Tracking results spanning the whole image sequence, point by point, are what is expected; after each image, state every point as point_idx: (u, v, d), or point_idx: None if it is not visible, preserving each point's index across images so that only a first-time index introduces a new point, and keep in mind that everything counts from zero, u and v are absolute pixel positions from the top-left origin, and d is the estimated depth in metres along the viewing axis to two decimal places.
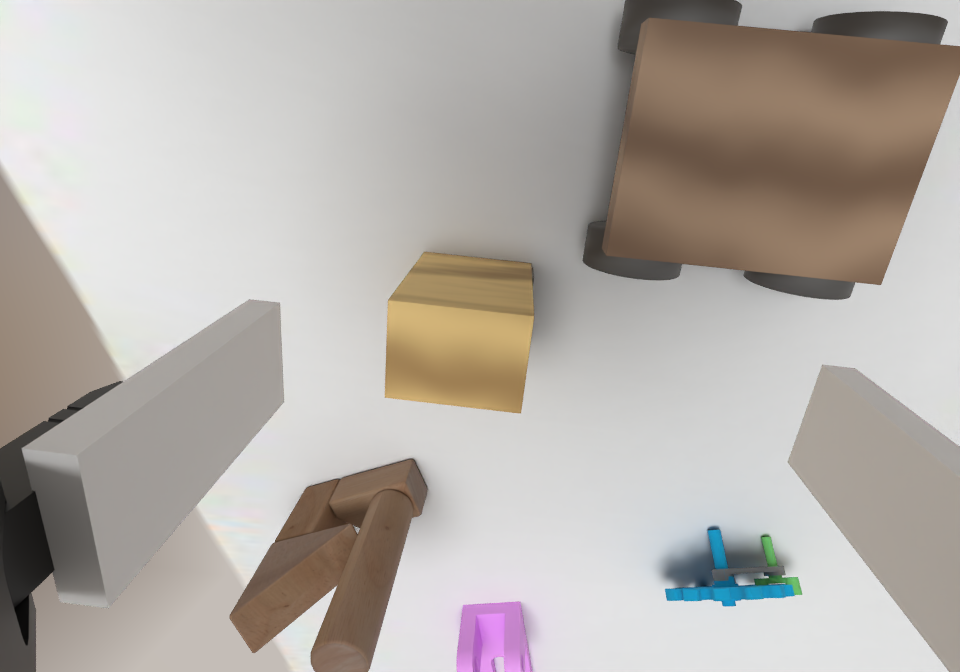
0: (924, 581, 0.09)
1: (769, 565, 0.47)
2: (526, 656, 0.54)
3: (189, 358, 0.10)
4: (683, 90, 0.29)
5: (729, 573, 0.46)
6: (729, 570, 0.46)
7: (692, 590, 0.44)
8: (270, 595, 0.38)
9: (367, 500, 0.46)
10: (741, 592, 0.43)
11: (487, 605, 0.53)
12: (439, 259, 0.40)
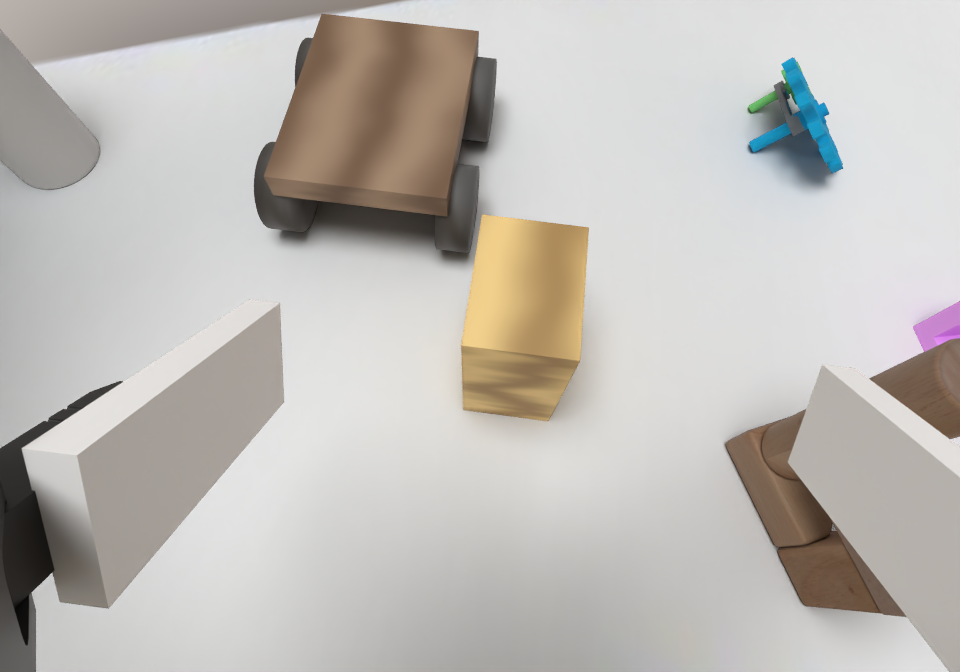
0: (925, 580, 0.09)
1: (777, 96, 0.49)
2: None
3: (189, 358, 0.10)
4: (319, 153, 0.38)
5: (790, 117, 0.46)
6: (787, 118, 0.46)
7: (809, 128, 0.42)
8: None
9: (787, 484, 0.34)
10: (798, 88, 0.43)
11: None
12: None
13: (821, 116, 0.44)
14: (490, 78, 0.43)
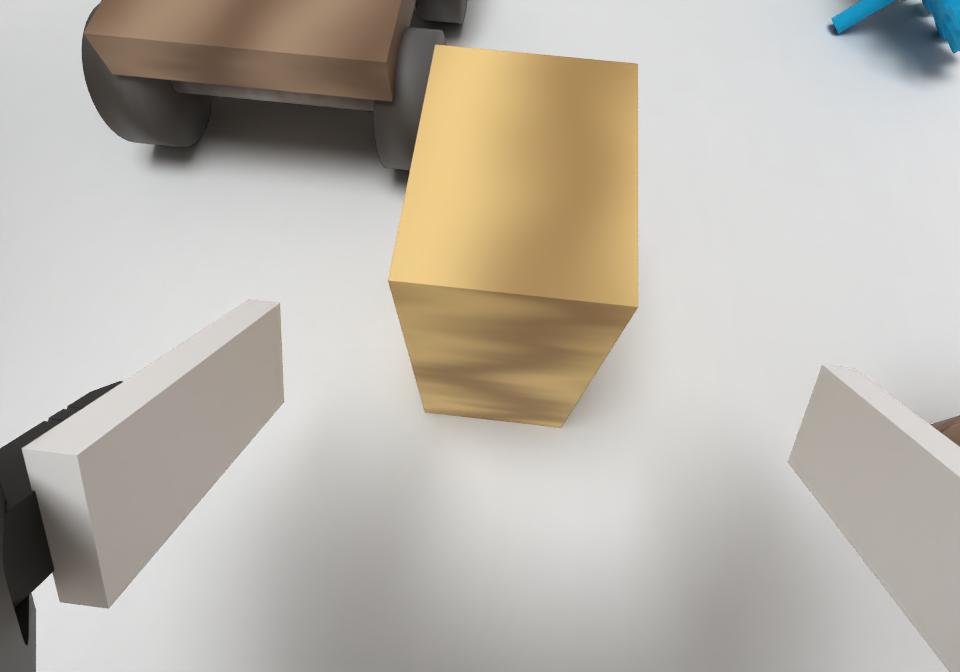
0: (925, 580, 0.09)
1: None
2: None
3: (189, 358, 0.10)
4: None
5: None
6: None
7: None
8: None
9: None
10: None
11: None
12: None
13: None
14: None
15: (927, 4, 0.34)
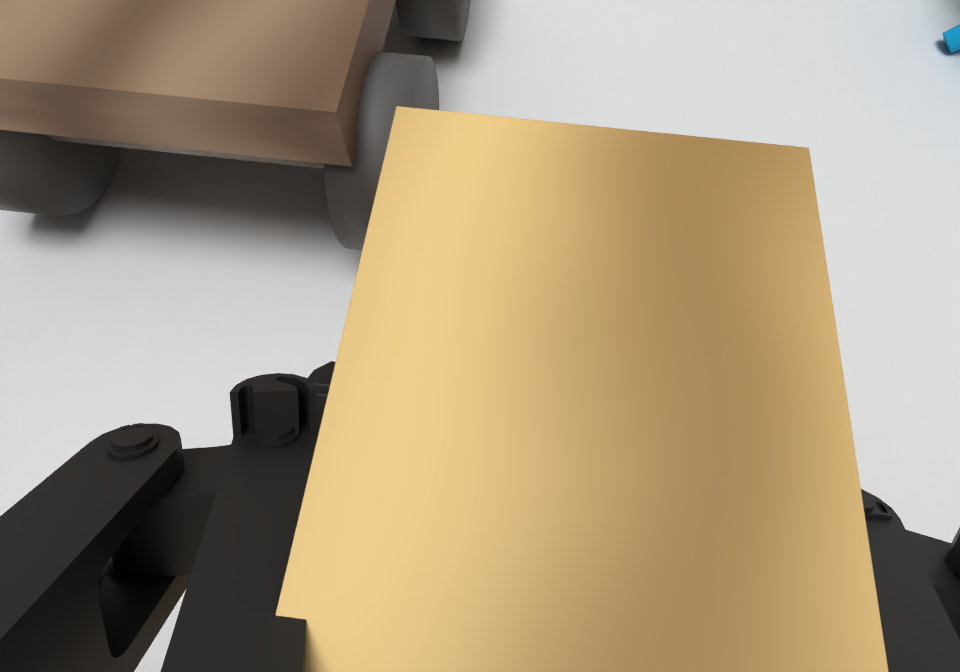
0: None
1: None
2: None
3: None
4: (24, 10, 0.15)
5: None
6: None
7: None
8: None
9: None
10: None
11: None
12: None
13: None
14: None
15: None
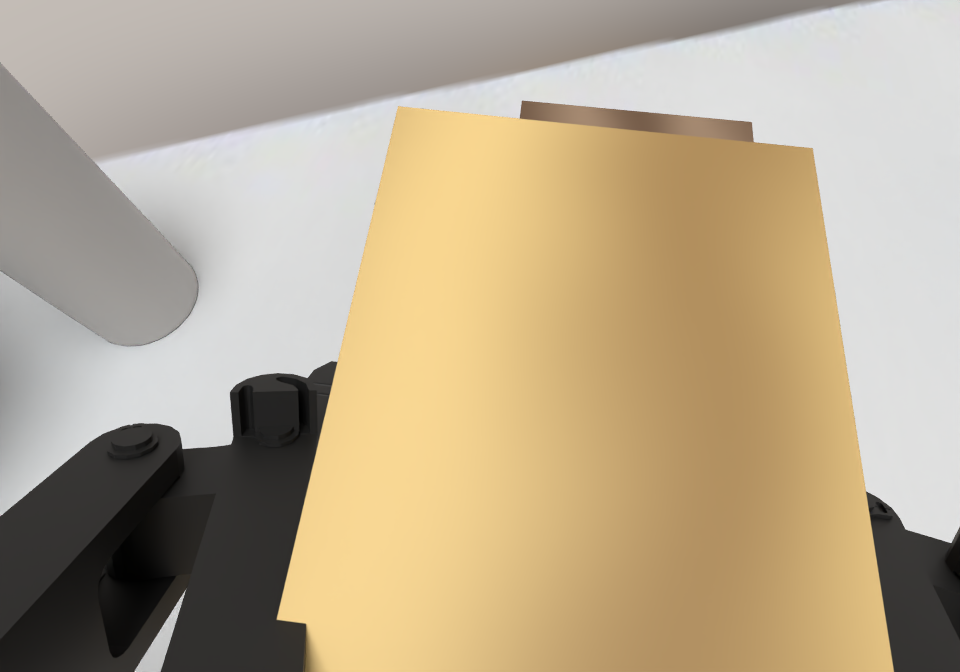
0: None
1: None
2: None
3: None
4: None
5: None
6: None
7: None
8: None
9: None
10: None
11: None
12: None
13: None
14: None
15: None
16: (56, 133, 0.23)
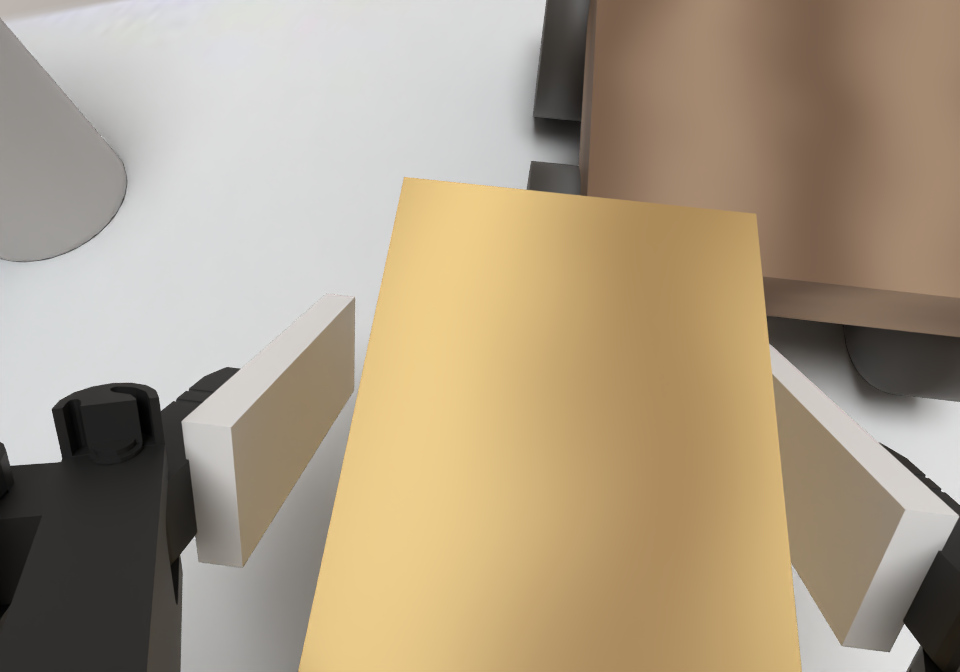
0: (802, 525, 0.10)
1: None
2: None
3: (294, 345, 0.11)
4: (706, 191, 0.15)
5: None
6: None
7: None
8: None
9: None
10: None
11: None
12: None
13: None
14: None
15: None
16: None
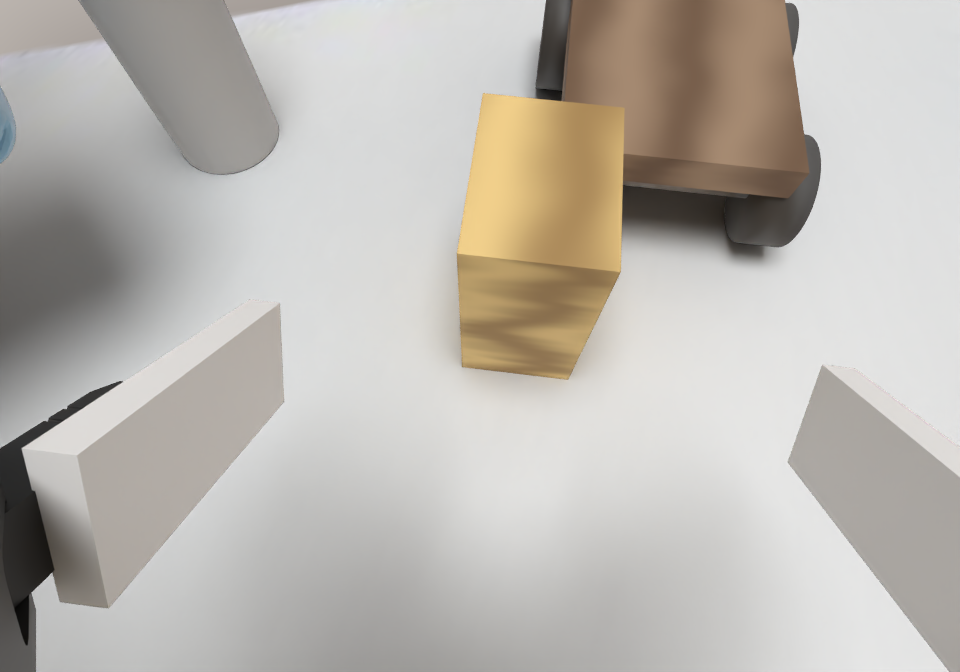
0: (924, 580, 0.09)
1: None
2: None
3: (189, 358, 0.10)
4: (624, 116, 0.29)
5: None
6: None
7: None
8: None
9: None
10: None
11: None
12: None
13: None
14: (796, 25, 0.34)
15: None
16: None
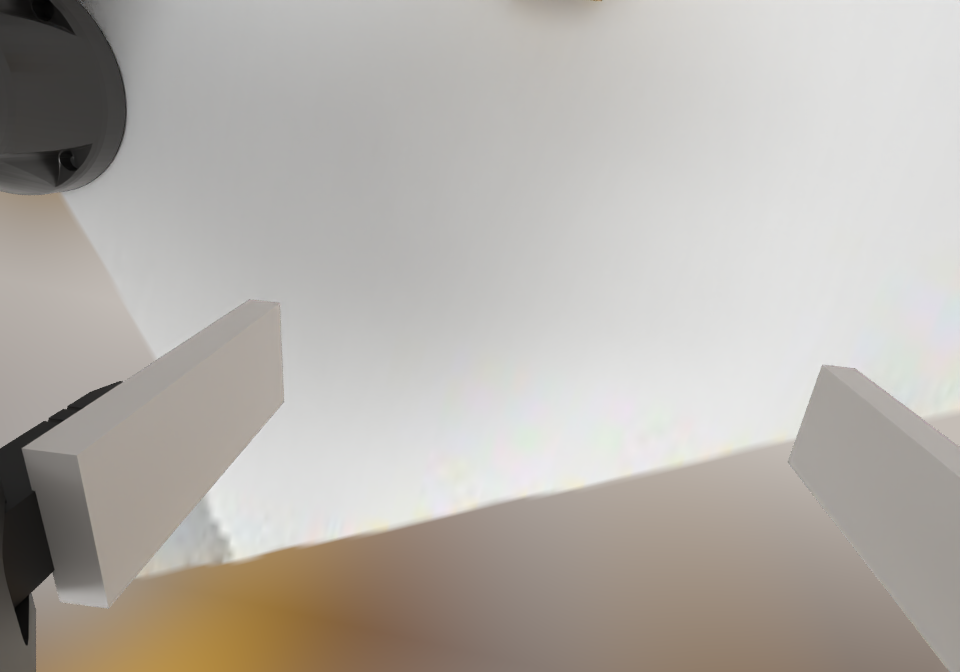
0: (924, 580, 0.09)
1: None
2: None
3: (189, 358, 0.10)
4: None
5: None
6: None
7: None
8: None
9: None
10: None
11: None
12: None
13: None
14: None
15: None
16: None
